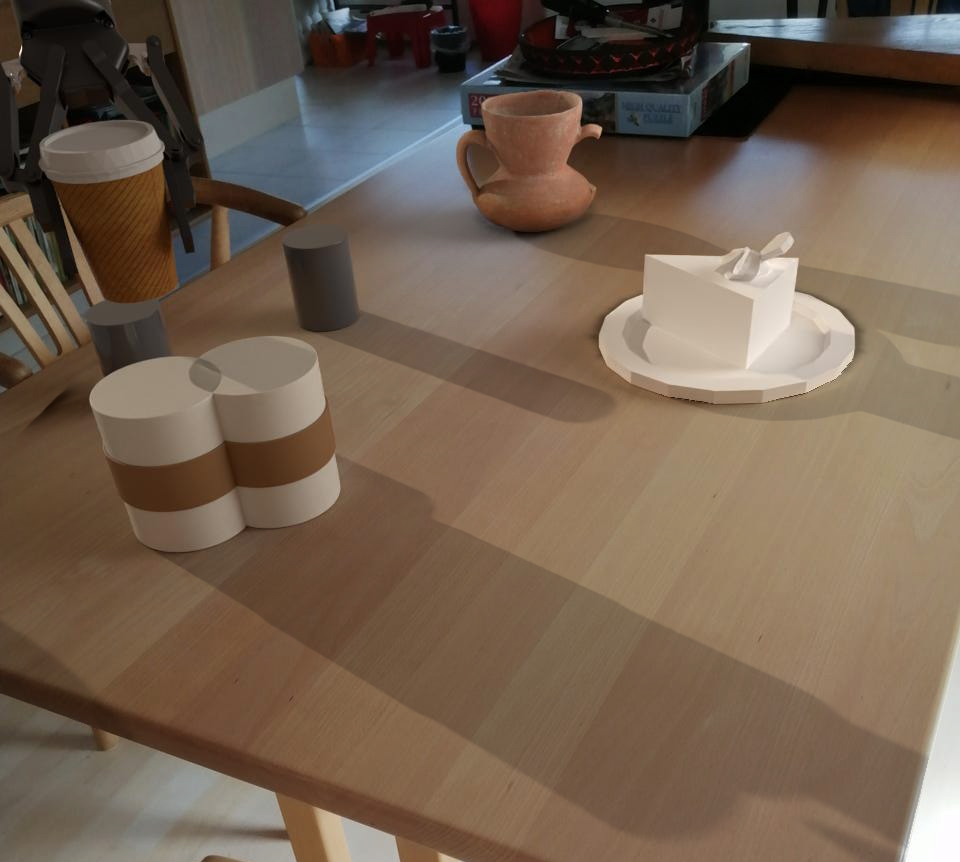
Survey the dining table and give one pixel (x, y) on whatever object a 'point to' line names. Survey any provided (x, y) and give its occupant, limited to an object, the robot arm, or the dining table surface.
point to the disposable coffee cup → (115, 205)
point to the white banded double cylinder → (219, 441)
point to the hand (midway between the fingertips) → (130, 255)
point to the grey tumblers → (314, 284)
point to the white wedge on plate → (726, 329)
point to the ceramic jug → (530, 160)
